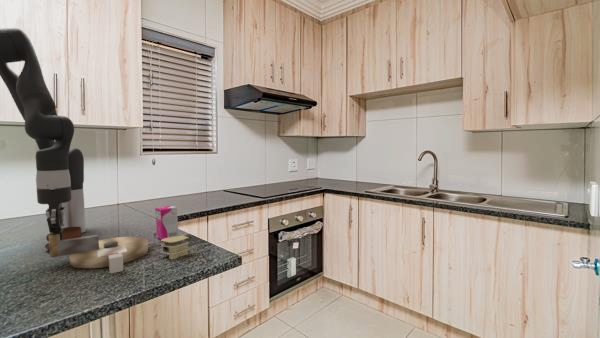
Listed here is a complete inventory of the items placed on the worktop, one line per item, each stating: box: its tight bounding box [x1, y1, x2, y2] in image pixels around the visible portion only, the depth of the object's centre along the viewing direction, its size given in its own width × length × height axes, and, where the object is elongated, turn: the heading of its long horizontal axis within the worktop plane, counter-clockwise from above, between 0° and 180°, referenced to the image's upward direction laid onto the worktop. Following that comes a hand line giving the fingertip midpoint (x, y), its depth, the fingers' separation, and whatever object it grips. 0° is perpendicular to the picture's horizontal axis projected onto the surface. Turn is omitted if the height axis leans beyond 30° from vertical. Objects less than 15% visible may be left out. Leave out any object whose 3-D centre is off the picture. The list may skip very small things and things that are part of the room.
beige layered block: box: [160, 235, 190, 260], centre depth 90 cm, size 10×9×6 cm
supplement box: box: [155, 205, 180, 243], centre depth 107 cm, size 6×6×12 cm
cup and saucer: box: [44, 227, 83, 251], centre depth 99 cm, size 12×12×6 cm
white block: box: [108, 253, 124, 274], centre depth 80 cm, size 5×3×4 cm, turn 37°
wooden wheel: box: [48, 234, 149, 269], centre depth 88 cm, size 24×20×9 cm
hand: (57, 244), depth 85 cm, fingers closed
